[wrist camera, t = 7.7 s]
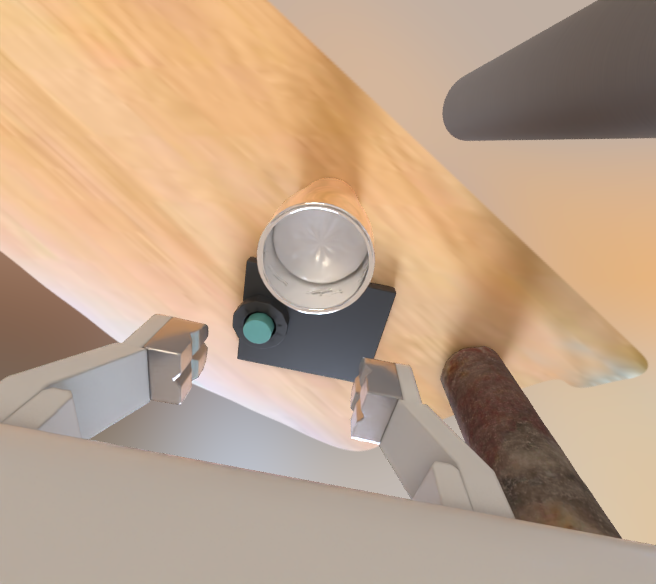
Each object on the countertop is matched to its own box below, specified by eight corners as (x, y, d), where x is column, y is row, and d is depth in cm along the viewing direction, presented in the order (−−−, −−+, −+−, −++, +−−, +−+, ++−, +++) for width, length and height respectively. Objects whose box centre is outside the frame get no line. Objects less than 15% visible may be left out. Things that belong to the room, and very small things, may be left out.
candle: (482, 397, 40) (593, 607, 22) (428, 384, 39) (497, 588, 21) (511, 350, 36) (672, 553, 18) (453, 336, 36) (559, 530, 18)
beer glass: (375, 227, 31) (397, 292, 17) (313, 254, 32) (289, 333, 19) (347, 159, 28) (348, 173, 15) (281, 191, 30) (228, 231, 16)
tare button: (276, 315, 33) (272, 323, 32) (272, 338, 34) (269, 346, 33) (248, 309, 33) (244, 317, 31) (245, 332, 34) (241, 340, 33)
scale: (394, 287, 34) (398, 299, 31) (364, 376, 39) (365, 394, 37) (246, 255, 33) (237, 265, 30) (237, 351, 39) (228, 366, 36)
